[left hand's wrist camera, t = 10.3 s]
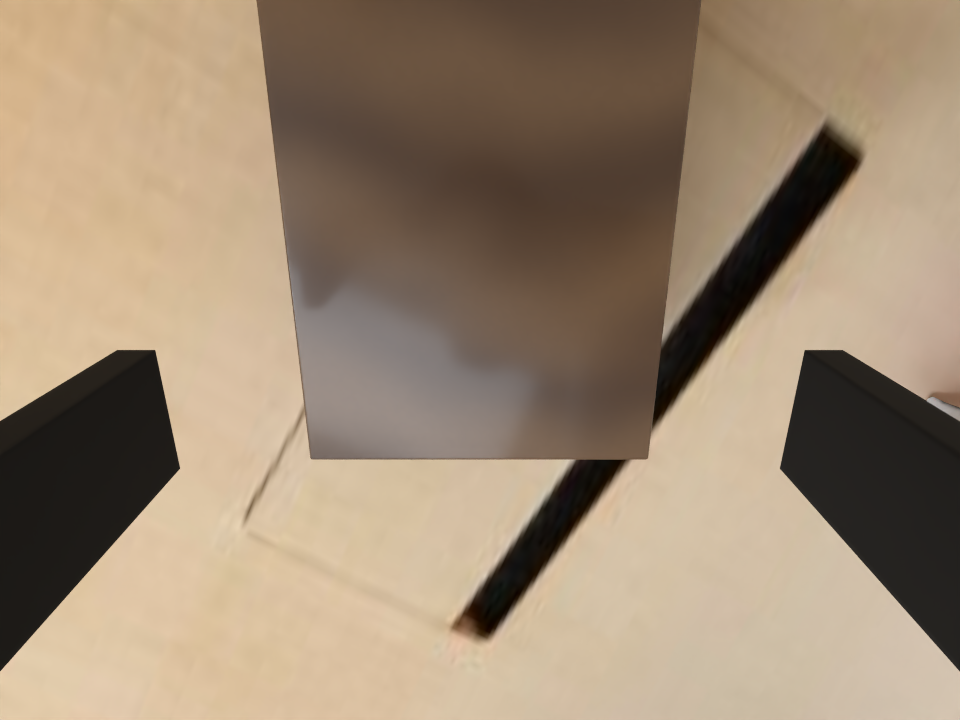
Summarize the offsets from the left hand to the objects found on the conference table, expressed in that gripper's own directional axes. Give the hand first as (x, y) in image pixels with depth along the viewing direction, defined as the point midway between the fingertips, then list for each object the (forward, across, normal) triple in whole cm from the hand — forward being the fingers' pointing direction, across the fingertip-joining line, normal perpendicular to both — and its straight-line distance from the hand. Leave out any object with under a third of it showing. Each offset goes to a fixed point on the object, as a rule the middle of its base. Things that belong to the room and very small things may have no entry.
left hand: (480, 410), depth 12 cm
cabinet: (+16, 0, -5) cm, 17 cm away
